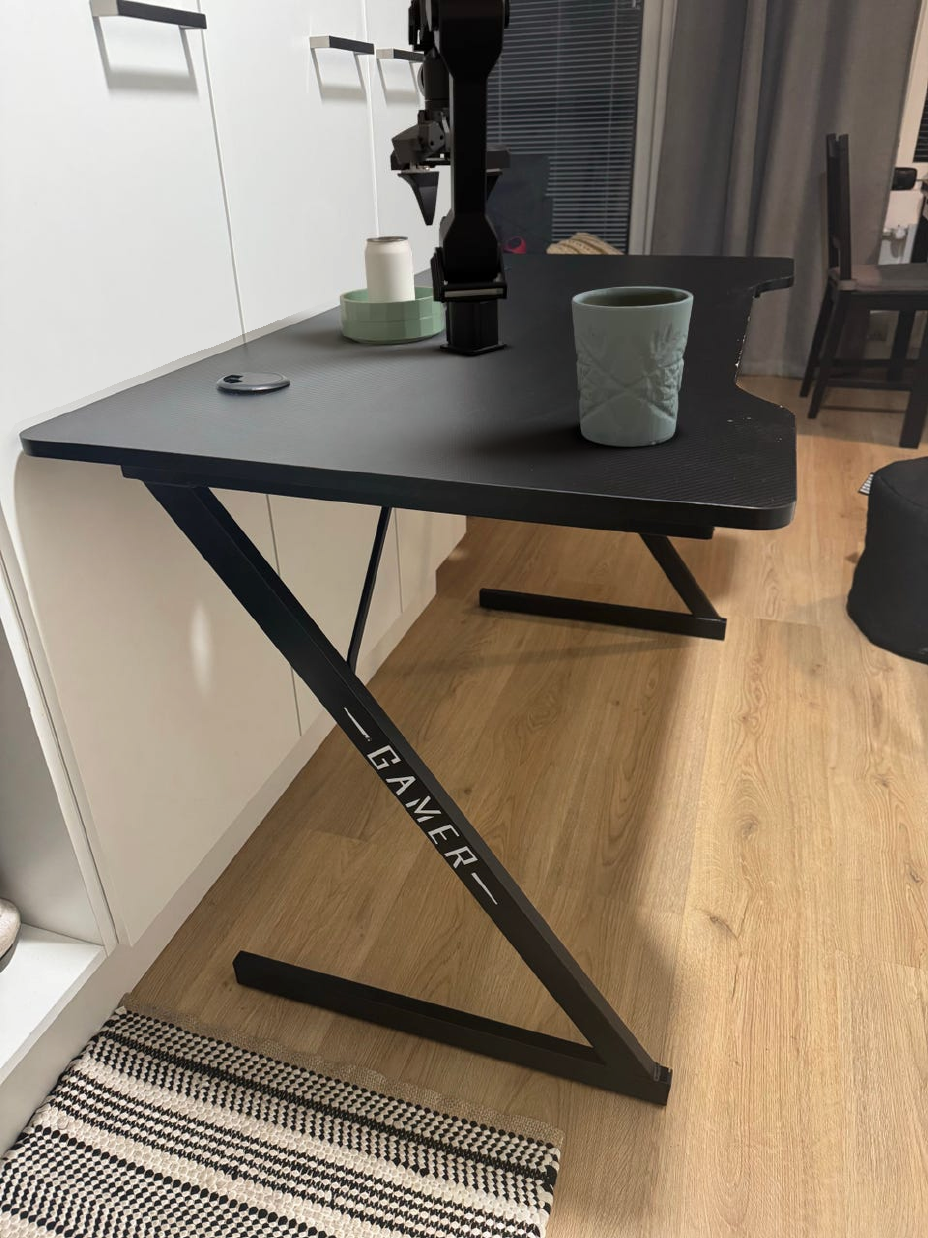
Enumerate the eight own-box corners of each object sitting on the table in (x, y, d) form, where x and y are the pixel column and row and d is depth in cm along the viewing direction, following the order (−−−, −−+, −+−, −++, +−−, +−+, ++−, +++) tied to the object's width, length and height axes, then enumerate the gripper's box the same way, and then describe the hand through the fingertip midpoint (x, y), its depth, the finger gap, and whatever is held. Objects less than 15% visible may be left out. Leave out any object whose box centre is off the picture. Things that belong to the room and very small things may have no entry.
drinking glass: (705, 433, 80) (718, 294, 74) (624, 457, 75) (631, 310, 69) (625, 410, 87) (632, 282, 81) (547, 431, 82) (547, 296, 76)
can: (369, 327, 127) (361, 237, 121) (413, 324, 128) (407, 234, 122) (373, 336, 122) (365, 242, 116) (419, 332, 122) (414, 239, 117)
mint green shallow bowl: (464, 331, 125) (463, 290, 122) (387, 349, 116) (384, 306, 114) (399, 321, 134) (396, 282, 131) (323, 337, 125) (318, 296, 123)
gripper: (355, 104, 120) (365, 229, 127) (449, 96, 108) (455, 235, 115) (417, 103, 126) (423, 222, 134) (512, 95, 114) (513, 227, 122)
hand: (450, 226), depth 126 cm, fingers open, 9 cm apart
